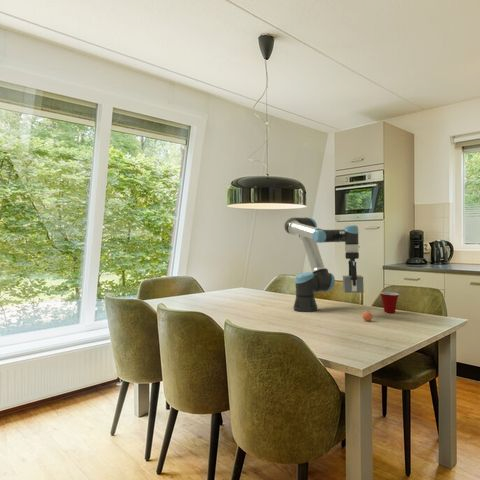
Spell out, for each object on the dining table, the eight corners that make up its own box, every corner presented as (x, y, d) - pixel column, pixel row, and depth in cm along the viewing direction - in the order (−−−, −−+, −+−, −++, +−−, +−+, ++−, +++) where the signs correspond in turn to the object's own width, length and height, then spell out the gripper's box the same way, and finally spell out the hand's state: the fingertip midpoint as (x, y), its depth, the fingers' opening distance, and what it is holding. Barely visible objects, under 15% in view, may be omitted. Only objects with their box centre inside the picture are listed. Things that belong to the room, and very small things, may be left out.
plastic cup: (401, 314, 217) (401, 293, 217) (382, 314, 219) (381, 293, 219) (397, 311, 227) (397, 291, 227) (379, 310, 229) (378, 291, 229)
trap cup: (345, 292, 214) (344, 277, 214) (343, 290, 224) (342, 275, 224) (363, 292, 212) (363, 277, 212) (360, 290, 222) (360, 275, 222)
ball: (363, 321, 200) (363, 312, 200) (362, 319, 205) (361, 310, 205) (373, 322, 199) (372, 312, 199) (371, 320, 204) (371, 310, 204)
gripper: (361, 252, 206) (362, 292, 206) (356, 251, 228) (357, 287, 228) (347, 252, 207) (348, 292, 207) (343, 251, 230) (344, 287, 230)
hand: (353, 290), depth 218 cm, fingers closed on trap cup, 10 cm apart
